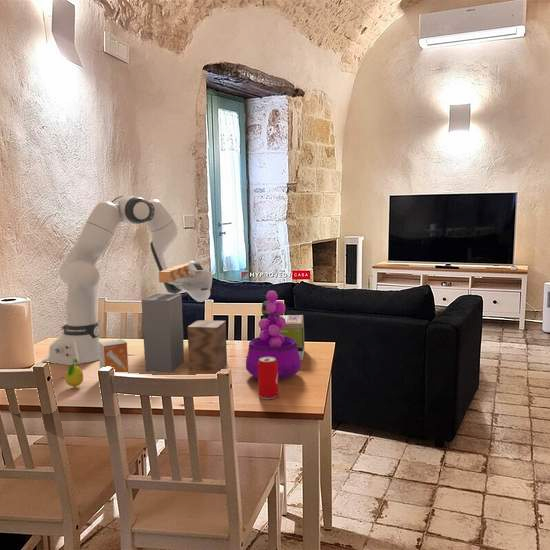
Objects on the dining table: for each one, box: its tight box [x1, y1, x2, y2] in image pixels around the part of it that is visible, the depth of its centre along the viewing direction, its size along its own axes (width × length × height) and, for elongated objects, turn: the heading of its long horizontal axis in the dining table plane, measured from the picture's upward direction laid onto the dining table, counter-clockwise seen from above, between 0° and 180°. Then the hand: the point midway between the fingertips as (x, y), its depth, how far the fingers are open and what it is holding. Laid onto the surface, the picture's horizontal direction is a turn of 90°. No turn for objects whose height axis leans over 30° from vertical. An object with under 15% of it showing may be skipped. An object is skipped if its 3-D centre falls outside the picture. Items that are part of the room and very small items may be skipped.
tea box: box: [279, 314, 305, 361], centre depth 209 cm, size 15×10×15 cm, turn 175°
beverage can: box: [257, 357, 280, 400], centre depth 165 cm, size 6×6×12 cm
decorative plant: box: [245, 290, 302, 381], centre depth 182 cm, size 19×18×30 cm
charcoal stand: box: [141, 293, 185, 373], centre depth 197 cm, size 13×10×26 cm
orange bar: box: [158, 264, 190, 284], centre depth 208 cm, size 22×4×4 cm, turn 170°
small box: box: [99, 338, 129, 373], centre depth 185 cm, size 8×6×13 cm
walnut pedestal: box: [187, 319, 228, 372], centre depth 197 cm, size 11×11×16 cm
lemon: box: [64, 358, 84, 389], centre depth 177 cm, size 7×6×10 cm
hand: (181, 269), depth 215 cm, fingers closed on orange bar, 4 cm apart
